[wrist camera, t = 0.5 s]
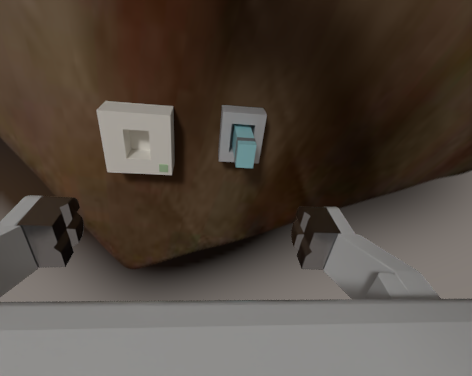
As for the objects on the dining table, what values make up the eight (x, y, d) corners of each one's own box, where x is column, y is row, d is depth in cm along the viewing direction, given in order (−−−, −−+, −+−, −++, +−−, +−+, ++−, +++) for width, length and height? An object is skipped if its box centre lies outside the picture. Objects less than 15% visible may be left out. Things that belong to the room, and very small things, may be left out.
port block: (105, 101, 50) (96, 110, 46) (173, 106, 51) (170, 116, 47) (114, 159, 57) (107, 172, 52) (174, 162, 58) (171, 175, 54)
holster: (221, 104, 52) (222, 111, 49) (263, 108, 53) (266, 115, 50) (218, 152, 58) (218, 161, 54) (255, 154, 59) (258, 163, 55)
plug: (233, 121, 53) (238, 143, 45) (249, 122, 54) (256, 144, 45) (231, 142, 56) (235, 167, 47) (246, 143, 56) (253, 168, 48)
